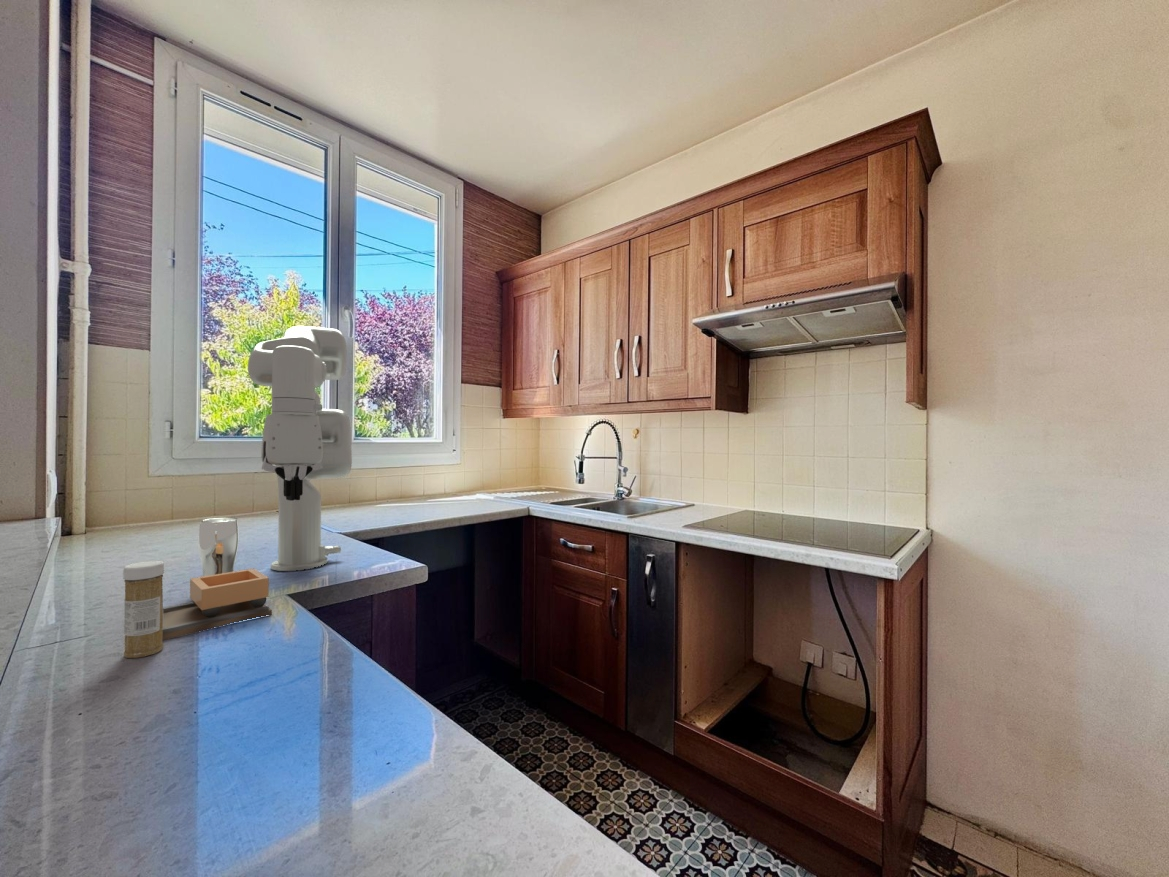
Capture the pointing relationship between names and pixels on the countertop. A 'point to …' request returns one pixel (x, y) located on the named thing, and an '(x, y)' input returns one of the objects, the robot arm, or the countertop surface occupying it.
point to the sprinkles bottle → (143, 608)
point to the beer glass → (218, 545)
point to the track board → (193, 620)
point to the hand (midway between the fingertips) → (293, 499)
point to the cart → (229, 590)
